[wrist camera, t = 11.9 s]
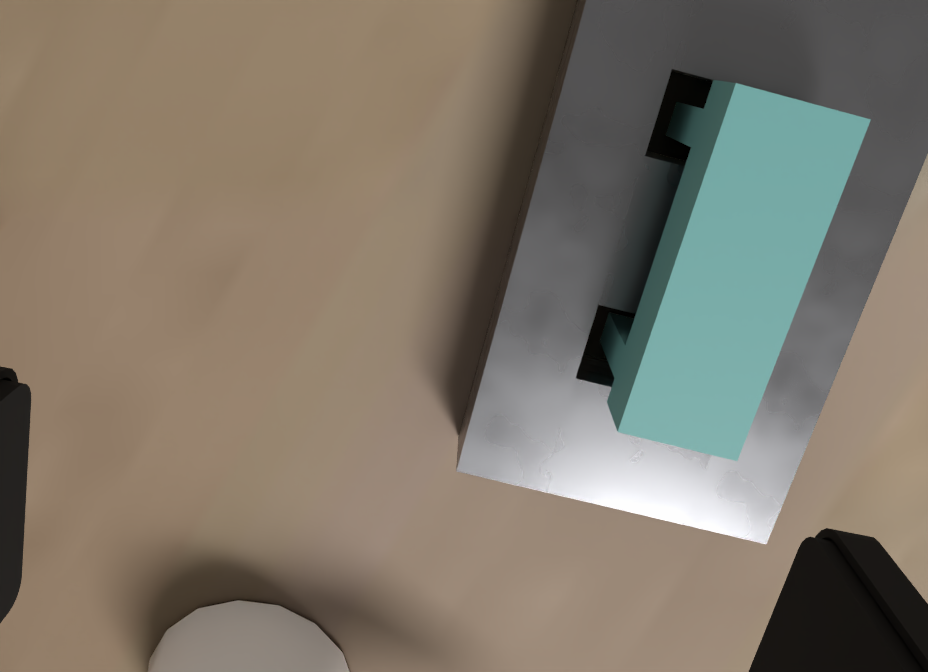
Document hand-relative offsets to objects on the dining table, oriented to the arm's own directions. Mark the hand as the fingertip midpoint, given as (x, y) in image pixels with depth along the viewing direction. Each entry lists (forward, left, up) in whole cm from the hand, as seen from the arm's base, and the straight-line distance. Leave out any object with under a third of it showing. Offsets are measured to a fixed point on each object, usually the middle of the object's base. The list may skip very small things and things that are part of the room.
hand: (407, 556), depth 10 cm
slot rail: (-1, +8, -23) cm, 24 cm away
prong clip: (-1, +9, -23) cm, 25 cm away
